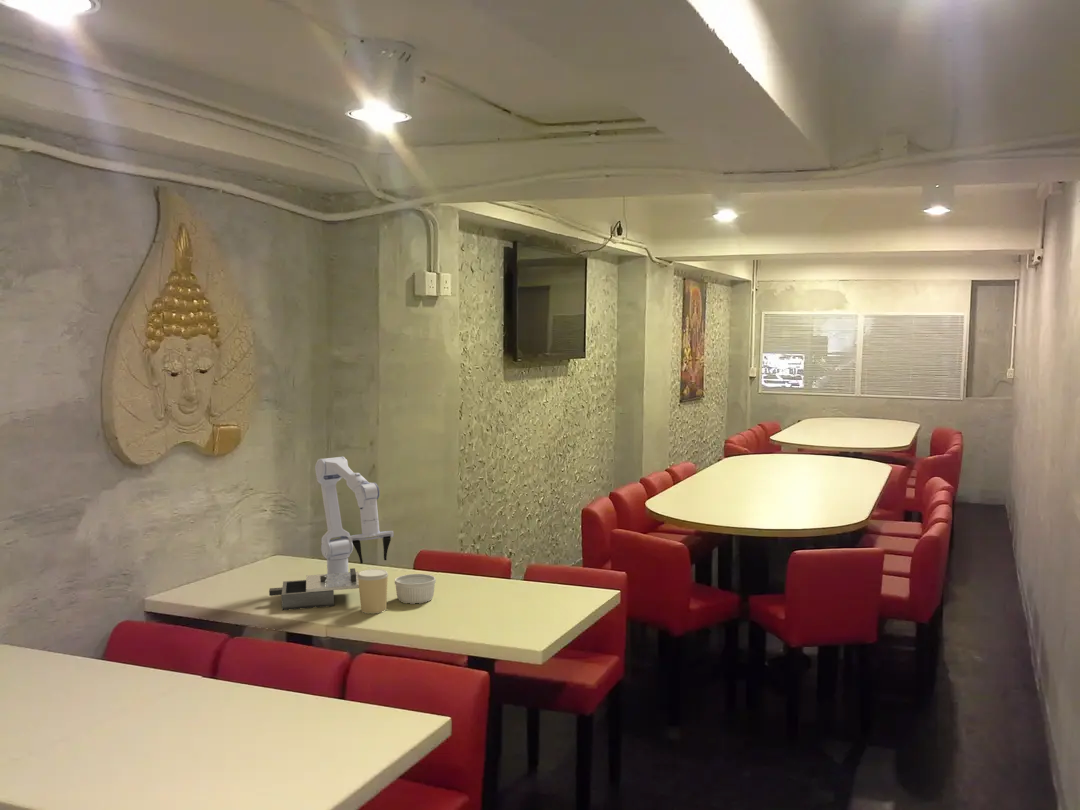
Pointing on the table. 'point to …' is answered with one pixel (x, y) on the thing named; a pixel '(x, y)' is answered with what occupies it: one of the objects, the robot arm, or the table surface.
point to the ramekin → (415, 588)
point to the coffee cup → (373, 590)
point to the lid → (332, 581)
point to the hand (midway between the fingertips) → (373, 561)
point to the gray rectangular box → (302, 596)
